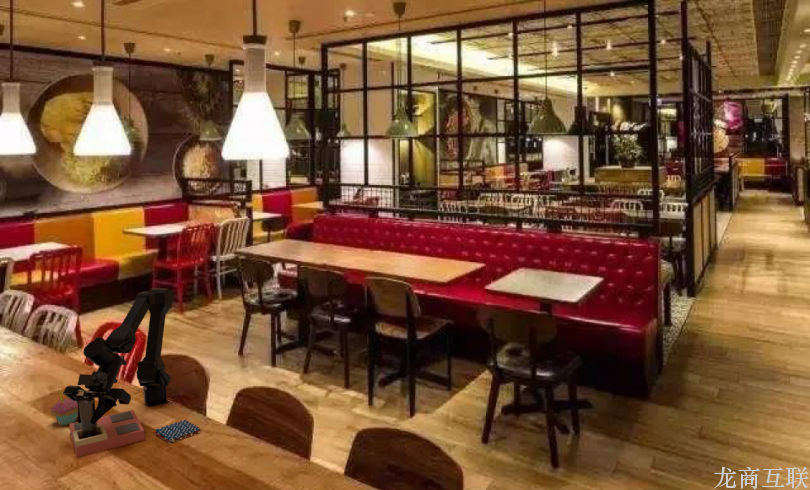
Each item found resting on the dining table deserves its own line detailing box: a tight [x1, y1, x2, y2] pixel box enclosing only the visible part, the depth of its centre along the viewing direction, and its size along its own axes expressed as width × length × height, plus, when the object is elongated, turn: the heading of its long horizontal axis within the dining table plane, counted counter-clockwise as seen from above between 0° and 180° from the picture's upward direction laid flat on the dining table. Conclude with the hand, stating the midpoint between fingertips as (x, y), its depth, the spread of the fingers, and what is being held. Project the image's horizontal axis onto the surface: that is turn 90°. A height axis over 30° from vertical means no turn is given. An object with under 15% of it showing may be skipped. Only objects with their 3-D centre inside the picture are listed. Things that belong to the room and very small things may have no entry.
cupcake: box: [50, 388, 78, 426], centre depth 193 cm, size 9×8×12 cm
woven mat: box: [153, 419, 201, 445], centre depth 185 cm, size 10×11×2 cm
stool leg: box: [79, 397, 98, 439], centre depth 175 cm, size 4×4×13 cm
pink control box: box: [69, 409, 146, 458], centre depth 183 cm, size 18×18×4 cm
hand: (85, 423), depth 174 cm, fingers closed on stool leg, 4 cm apart
